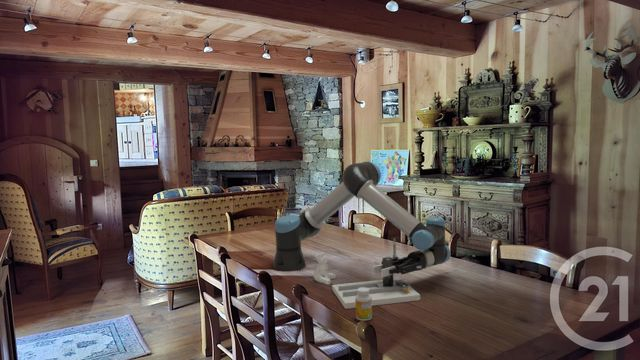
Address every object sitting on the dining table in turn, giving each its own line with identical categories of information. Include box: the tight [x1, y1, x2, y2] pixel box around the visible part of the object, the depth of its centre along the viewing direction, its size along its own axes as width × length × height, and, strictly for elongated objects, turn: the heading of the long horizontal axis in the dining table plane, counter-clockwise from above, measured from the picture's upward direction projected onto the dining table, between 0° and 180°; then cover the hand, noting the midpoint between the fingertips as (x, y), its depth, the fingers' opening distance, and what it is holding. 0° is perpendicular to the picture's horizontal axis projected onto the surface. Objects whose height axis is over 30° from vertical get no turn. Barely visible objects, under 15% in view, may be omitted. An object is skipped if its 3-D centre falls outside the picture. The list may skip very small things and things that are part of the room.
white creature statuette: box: [313, 252, 337, 286], centre depth 184 cm, size 10×9×12 cm
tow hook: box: [392, 237, 398, 258], centre depth 206 cm, size 8×13×9 cm
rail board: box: [331, 277, 421, 310], centre depth 166 cm, size 28×20×4 cm
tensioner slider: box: [376, 256, 409, 288], centre depth 165 cm, size 11×10×11 cm
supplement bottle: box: [355, 287, 373, 322], centre depth 146 cm, size 5×5×10 cm
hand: (377, 271), depth 164 cm, fingers closed on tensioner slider, 4 cm apart
